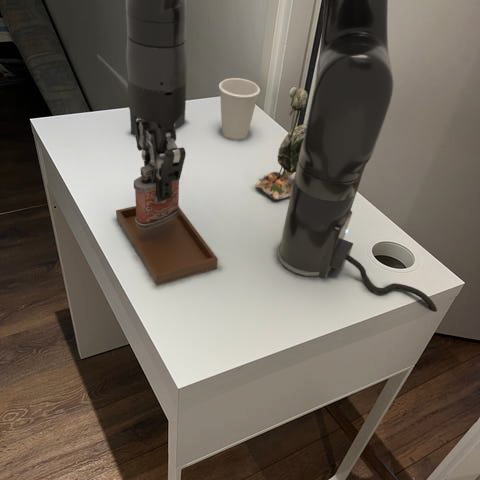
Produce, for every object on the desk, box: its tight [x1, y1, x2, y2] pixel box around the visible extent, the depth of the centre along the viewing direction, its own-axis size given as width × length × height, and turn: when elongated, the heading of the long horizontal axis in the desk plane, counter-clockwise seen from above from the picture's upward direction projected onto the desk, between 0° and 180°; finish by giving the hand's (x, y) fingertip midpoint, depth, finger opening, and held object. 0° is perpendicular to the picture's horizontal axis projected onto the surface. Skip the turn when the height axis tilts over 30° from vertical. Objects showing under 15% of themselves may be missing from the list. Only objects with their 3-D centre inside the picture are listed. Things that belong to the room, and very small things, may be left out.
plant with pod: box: [254, 87, 308, 201], centre depth 89 cm, size 8×11×20 cm
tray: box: [115, 205, 218, 286], centre depth 81 cm, size 17×10×2 cm, turn 29°
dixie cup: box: [218, 77, 261, 141], centre depth 105 cm, size 8×8×10 cm
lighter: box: [133, 161, 181, 229], centre depth 77 cm, size 8×3×10 cm, turn 135°
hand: (158, 189), depth 76 cm, fingers closed on lighter, 4 cm apart
